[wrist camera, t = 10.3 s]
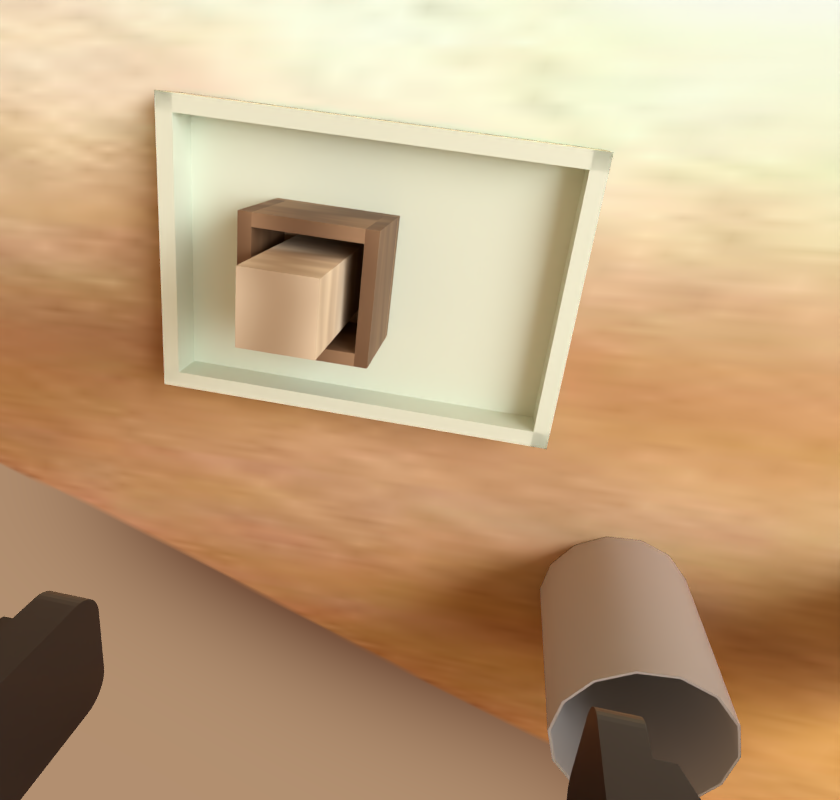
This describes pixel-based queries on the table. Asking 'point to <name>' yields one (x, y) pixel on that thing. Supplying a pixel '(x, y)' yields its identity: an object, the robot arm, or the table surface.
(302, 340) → the peg
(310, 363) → the tray
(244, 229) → the open drawer box
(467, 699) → the table surface
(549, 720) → the cup
